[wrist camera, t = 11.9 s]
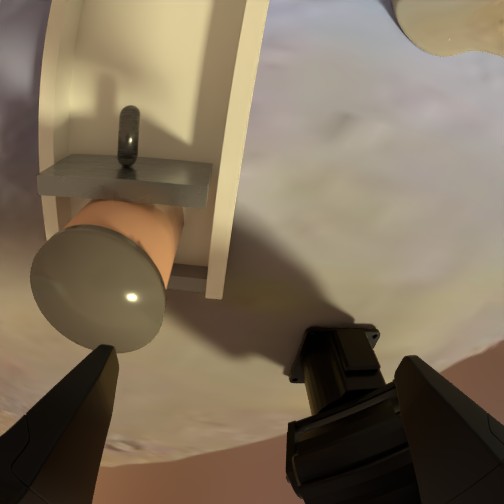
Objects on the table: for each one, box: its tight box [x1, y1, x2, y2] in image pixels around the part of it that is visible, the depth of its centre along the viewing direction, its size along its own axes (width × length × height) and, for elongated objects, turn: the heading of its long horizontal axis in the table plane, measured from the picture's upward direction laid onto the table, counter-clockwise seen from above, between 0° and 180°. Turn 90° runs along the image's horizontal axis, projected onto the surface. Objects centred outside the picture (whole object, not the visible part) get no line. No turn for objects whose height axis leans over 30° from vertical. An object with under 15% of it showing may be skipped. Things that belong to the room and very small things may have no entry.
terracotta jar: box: [30, 199, 184, 353], centre depth 15 cm, size 6×6×8 cm
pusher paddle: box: [36, 105, 213, 209], centre depth 14 cm, size 4×8×4 cm, turn 81°
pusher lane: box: [39, 0, 269, 300], centre depth 13 cm, size 20×11×6 cm, turn 171°
